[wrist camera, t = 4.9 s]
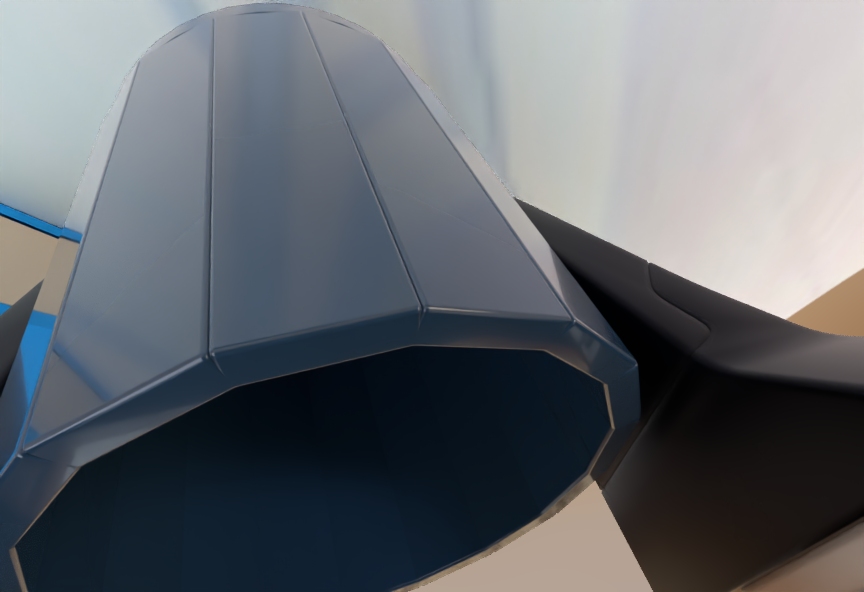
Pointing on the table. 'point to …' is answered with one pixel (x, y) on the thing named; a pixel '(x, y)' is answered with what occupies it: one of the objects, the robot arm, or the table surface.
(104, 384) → the cup
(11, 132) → the table surface
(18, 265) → the book
